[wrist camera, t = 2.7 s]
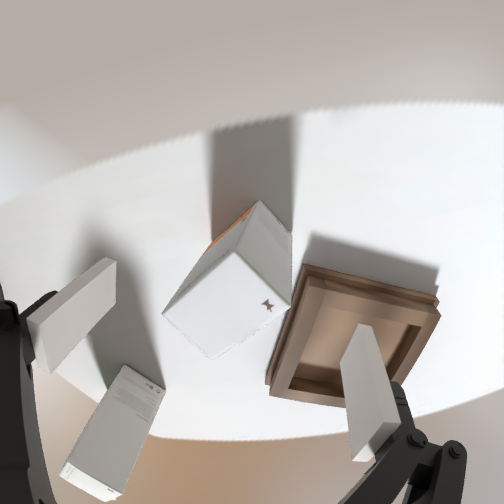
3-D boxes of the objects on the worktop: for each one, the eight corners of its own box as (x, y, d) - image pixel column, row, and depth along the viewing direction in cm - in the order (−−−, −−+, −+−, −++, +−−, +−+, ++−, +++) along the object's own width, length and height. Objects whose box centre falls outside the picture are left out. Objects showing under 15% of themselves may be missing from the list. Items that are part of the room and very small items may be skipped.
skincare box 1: (125, 361, 34) (65, 458, 20) (170, 391, 35) (126, 495, 21) (106, 391, 37) (55, 475, 23) (145, 417, 38) (105, 505, 24)
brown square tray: (265, 378, 33) (263, 397, 30) (303, 263, 27) (304, 278, 25) (379, 396, 32) (384, 415, 29) (435, 296, 27) (447, 311, 24)
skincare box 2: (259, 197, 26) (236, 246, 15) (293, 234, 27) (295, 308, 15) (208, 243, 28) (157, 315, 17) (241, 277, 29) (212, 364, 17)
